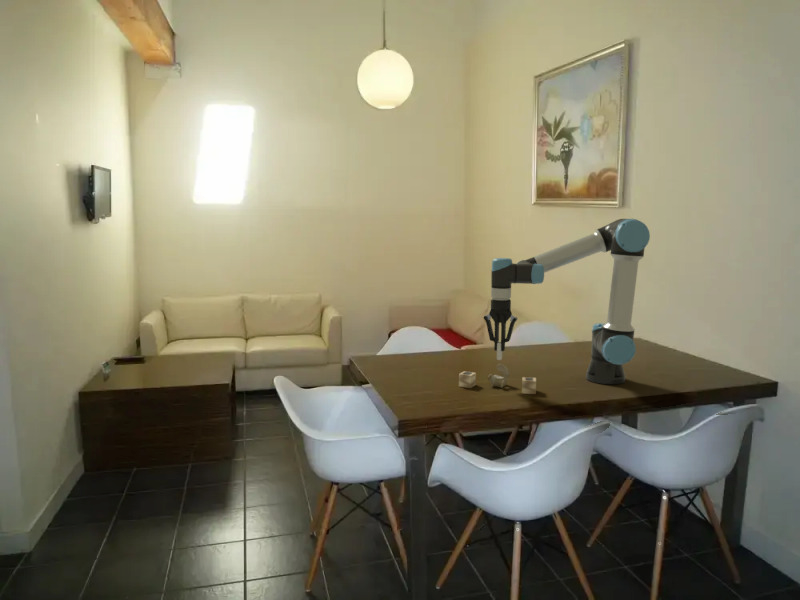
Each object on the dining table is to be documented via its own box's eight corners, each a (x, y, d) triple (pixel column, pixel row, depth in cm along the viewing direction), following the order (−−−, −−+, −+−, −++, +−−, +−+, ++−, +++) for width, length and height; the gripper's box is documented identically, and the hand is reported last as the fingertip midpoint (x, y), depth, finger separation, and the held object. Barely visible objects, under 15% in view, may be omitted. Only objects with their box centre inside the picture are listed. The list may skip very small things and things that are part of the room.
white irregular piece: (491, 386, 237) (489, 361, 241) (486, 390, 243) (484, 366, 247) (512, 386, 238) (510, 362, 242) (507, 391, 244) (505, 366, 248)
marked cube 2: (535, 390, 237) (535, 377, 236) (535, 394, 232) (536, 380, 231) (522, 389, 238) (522, 376, 237) (522, 393, 233) (522, 380, 232)
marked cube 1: (475, 385, 245) (475, 372, 244) (470, 388, 240) (470, 375, 240) (464, 383, 247) (464, 370, 246) (458, 386, 243) (458, 373, 242)
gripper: (519, 298, 238) (518, 358, 242) (486, 296, 243) (485, 355, 246) (516, 300, 232) (514, 362, 235) (481, 299, 236) (480, 359, 240)
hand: (499, 359), depth 241 cm, fingers closed
